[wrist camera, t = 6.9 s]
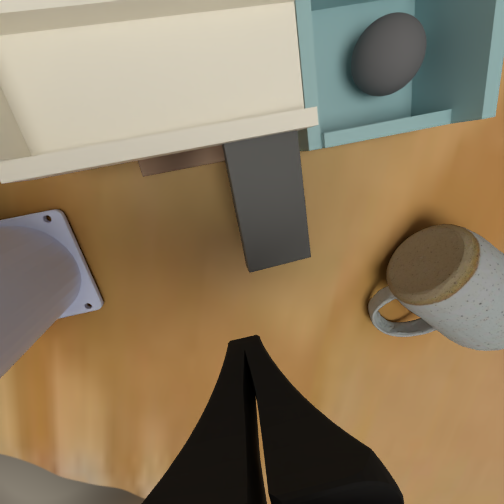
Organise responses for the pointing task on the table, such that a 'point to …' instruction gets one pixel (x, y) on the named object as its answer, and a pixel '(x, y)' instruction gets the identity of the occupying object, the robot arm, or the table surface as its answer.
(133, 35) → the cream piece
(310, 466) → the robot arm
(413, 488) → the table surface
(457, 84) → the bin
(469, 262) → the ceramic mug
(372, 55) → the ball
